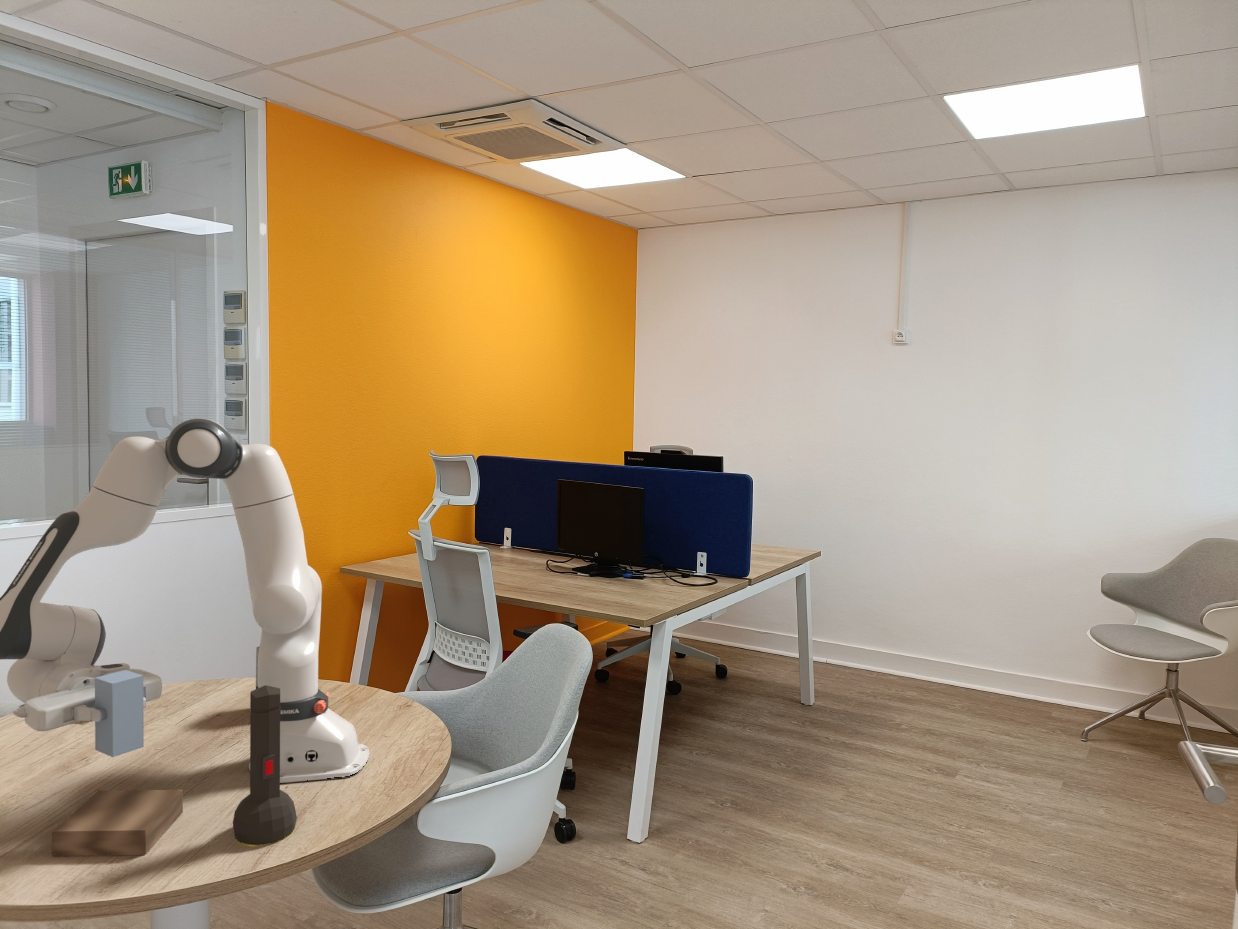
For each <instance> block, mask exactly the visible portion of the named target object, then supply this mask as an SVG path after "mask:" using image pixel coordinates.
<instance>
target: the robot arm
mask: <svg viewBox="0 0 1238 929" xmlns="http://www.w3.org/2000/svg"><path fill="white" fill-rule="evenodd" d="M181 476H188V477H190V478H195V479H219V480H222V481H223V483H224V484H225V486H226V488H227V490H228V494H229V497H230V501H231V505H232V508H233V513H234V516H235V519H236V523H237V527H238V531H239V534H240V538H241V542H242V547H243V551H244V560H245V565H246V566H245V567H246V575H247V581H248V589H249V594H250V598H251V605H252V614H253V618H254V620H255V622H256V624H257V625H258V626H259V627H260V628H261V632H260V642H259V646H260V648H259V654H258V688H260V687H262V686H265V685H267V686H272V687H276V688H280V784H284V783H285V784H286V783H294V782H295V783H297V782H306V781H307V780H308V781H317V780H328V779H327V778H331V779H335V778H334V777H342V776H350V775H352V774H354V773H356V772H358V771H359V770H360V769H361V768H362V767H363V766H364V765H365V764H366V762H367V760H368V761H369V759H370V749H369V747H368V746H367V745H366V744H365V743H364V744H363V743H359V741H358V735H357V731H356V728H355V726H354V725H353V724H352V723H351V722H350V721H348V720H347V719H345V718H343V717H342V716H341V715H339V714H337V713H336V712H334V711H333V710H332V709H330V708H329V699H330V691H327V692H326V693H324V692H323V691H322V690H321V689H319V647H320V635H321V633H320V632H321V620H322V619H321V618H322V617H321V616H322V615H321V614H322V593H323V585H322V580H321V578H320V576H319V574H318V572H317V571H316V570H315V569H314V568H313V567H312V566H310V565H309V564H308V557H307V550H306V544H305V536H304V535H305V534H304V529H303V526H302V521H301V518H300V514H299V510H298V506H297V502H296V498H295V494H294V490H293V488H292V484H291V481H290V478H289V475H288V473H287V470H286V468H285V466H284V463H283V461H282V458H281V457H280V455H279V453H278V451H277V450H276V449H275V448H274V447H273V446H271V445H268V444H265V443H248V444H240V443H239V442H238V441H237V440H236V439H235V438H234V437H233V436H232V435H231V434H230V433H229V432H228V430H227V429H226V428H225V427H224V426H223V425H221V424H220V423H219V422H217V421H215V420H212V419H209V418H203V417H198V418H197V417H195V418H190V419H187V420H185V421H182V422H181V423H179V424H177V425H176V426H175V427H174V428H173V429H172V430H171V432H170V433H169V434H168V436H167V437H165V438H164V439H159V440H158V439H153V438H150V437H147V436H137V435H135V436H128V437H124V438H123V439H121V440H120V441H119V442H118V443H117V444H116V445H115V447H114V448H113V450H112V451H111V453H109V455H108V457H107V458H106V460H105V462H104V463H103V464H102V466H101V469H100V470H99V472H98V474H97V476H96V478H95V480H94V483H93V484H92V486H91V489H90V491H89V492H88V494H87V495H86V496H85V498H84V499H83V500H82V501H81V503H79V504H78V505H77V506H76V507H74V509H72V510H71V511H68V512H64V513H61V514H60V515H59V516H57V517H56V518H55V519H54V520H53V522H52V523H51V524H50V526H48V528H47V529H46V531H45V532H44V533H43V535H42V536H41V538H40V539H39V541H38V542H37V544H36V545H35V546H34V548H33V549H32V551H31V552H30V554H29V556H28V557H27V558H26V560H25V562H24V563H23V565H22V566H21V567H20V569H19V571H18V572H17V574H16V575H15V577H14V579H12V581H11V583H9V586H8V587H7V589H6V590H5V591H4V593H3V594H2V595H1V596H0V660H16V661H15V662H13V663H12V665H11V666H10V668H9V670H8V672H7V675H6V676H7V677H6V682H7V686H8V689H9V691H10V692H11V693H12V695H13V696H14V697H15V698H16V699H17V700H19V701H21V703H23V704H20V705H19V706H18V708H15V709H13V711H12V713H13V716H15V717H16V718H17V717H18V718H21V719H24V722H25V724H26V725H27V726H28V727H30V728H31V729H32V730H35V731H37V732H48V731H51V730H56V729H58V728H61V727H65V726H68V725H72V724H75V723H79V722H85V721H86V722H87V721H88V722H89V721H93V722H94V723H95V722H99V721H102V720H105V719H106V718H107V716H106V714H107V711H106V709H105V708H102V707H98V708H95V678H96V677H99V676H103V675H107V674H111V673H115V672H119V671H123V670H128V671H131V672H134V673H137V674H140V675H143V705H144V709H145V708H147V702H151V701H153V700H154V701H155V700H157V699H160V698H161V696H162V694H163V693H162V692H163V683H162V677H161V676H159V675H158V674H155V673H153V672H150V671H147V670H142V669H138V668H131V667H130V664H128V663H125V662H121V663H112V664H111V663H110V664H104V665H95V664H96V662H97V661H98V660H99V658H100V656H101V654H102V651H103V649H104V646H105V642H106V636H107V635H106V634H107V633H106V628H105V625H104V621H103V619H102V617H101V616H100V614H99V613H98V611H96V610H94V609H92V608H87V607H80V606H73V605H61V604H54V603H47V602H41V601H42V599H43V597H44V595H45V594H46V593H47V591H48V590H49V588H50V586H51V585H52V583H53V582H54V580H55V578H57V575H58V574H59V572H60V571H61V569H62V568H63V566H64V565H65V564H66V563H67V562H68V560H70V559H71V558H72V557H75V556H76V555H78V554H80V553H83V552H86V551H90V550H95V549H100V548H107V547H112V546H114V547H115V546H119V545H123V544H126V543H129V542H132V541H134V540H135V539H137V538H138V537H140V536H142V535H143V534H144V533H145V532H146V531H147V530H148V528H149V527H150V526H151V524H152V522H153V520H154V517H155V515H156V513H157V511H158V508H159V506H160V503H161V501H162V498H163V496H164V494H165V492H166V491H167V490H166V489H167V488H168V486H169V485H170V483H172V481H173V480H174V479H175V478H177V477H181ZM368 758H369V759H368ZM367 763H368V762H367ZM366 765H367V764H366ZM366 765H365V766H366ZM248 769H249V771H250V762H249V764H248ZM359 772H360V771H359ZM359 772H358V773H359ZM350 777H351V776H350ZM342 778H343V777H342Z"/></svg>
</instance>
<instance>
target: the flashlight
mask: <svg viewBox="0 0 1238 929" xmlns="http://www.w3.org/2000/svg"><path fill="white" fill-rule="evenodd" d="M249 695H250V696H249V698H250V700H249V703H250V705H249V707H250V708H249V709H250V711H249V712H250V714H249V717H250V719H249V720H250V722H249V723H250V726H249V727H250V728H249V729H250V730H249V735H250V736H249V737H250V738H249V740H250V742H249V743H250V744H249V746H250V750H249V754H250V756H249V763H250V770H249V776H250V777H249V784H250V785H249V792H250V793H249V794H248V795H246V796H245V797H244V798H243V799H241V800H240V802H239V804H238V806H237V807H236V809H235V810H234V813H233V814H234V815H233V819H232V830H233V834H234V838H235V840H236V841H237V842H238V843H240V844H244V845H250V846H251V845H252V846H253V845H254V846H264V845H269V844H273V843H276V842H279V841H282V840H284V839H285V838H288V836H290V835H291V834H292V833H293V832H294V830H295V829H296V825H297V824H296V823H297V819H298V818H297V817H298V816H297V811H296V807H295V806H296V805H295V802H294V800H293V799H292V798H291V797H290V795H289V793H287V792H285V791H283V790H281V783H280V688H276V687H272V686H267V685H265V686H262V687H260V688H257V689H256V688H255V689H253V690H251V691H250V693H249Z"/></svg>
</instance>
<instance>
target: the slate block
mask: <svg viewBox="0 0 1238 929" xmlns="http://www.w3.org/2000/svg"><path fill="white" fill-rule="evenodd" d="M98 707H102V708H105V709H106V711H107V714H106V716H107V718H106V719H105V720H102V721H99V722H95V721H94V736H95V738H94V744H95V746H94V748H95V751H97V752H99V753H102V754H104V755H106V756H109V757H111V758H115V757H119V756H121V755H124V754H127V753H131V752H133V751H136V750H138V749H142V748H144V746H145V744H144V742H145V738H144V737H145V734H144V733H145V732H144V731H145V729H144V727H145V725H144V721H145V720H144V717H145V716H144V711H145V710H144V709H145V708H144V705H143V675H140V674H137V673H134V672H131V671H128V670H123V671H119V672H115V673H111V674H107V675H103V676H99V677H96V678H95V708H98Z"/></svg>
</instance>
